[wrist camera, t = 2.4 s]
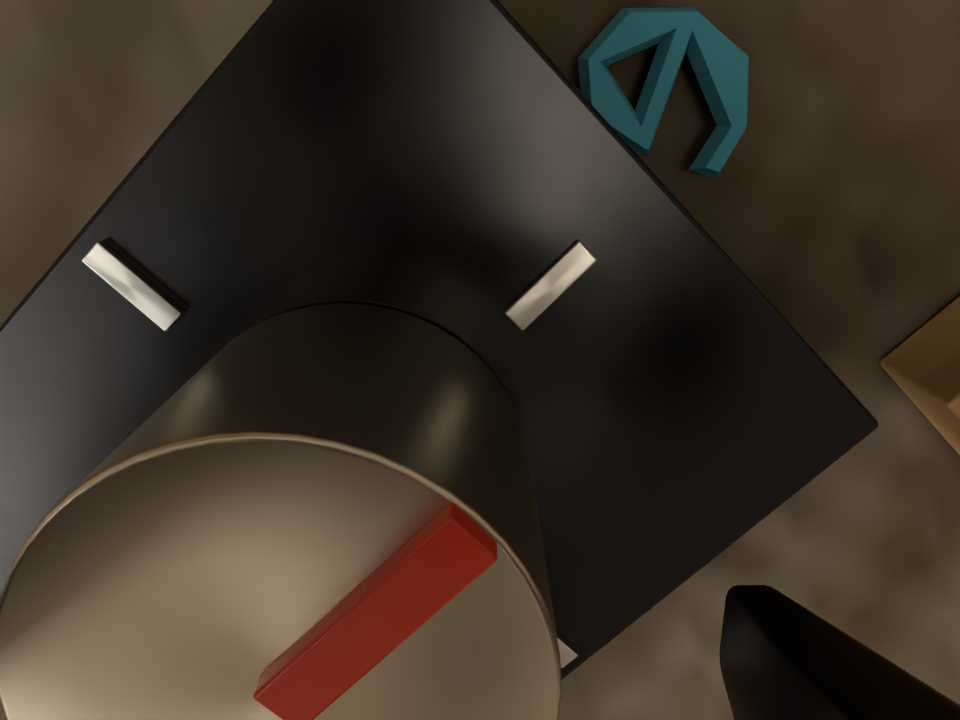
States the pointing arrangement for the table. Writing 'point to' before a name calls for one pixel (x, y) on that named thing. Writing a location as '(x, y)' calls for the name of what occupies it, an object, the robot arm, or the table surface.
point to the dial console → (437, 290)
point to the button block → (932, 371)
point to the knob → (297, 544)
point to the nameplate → (668, 78)
